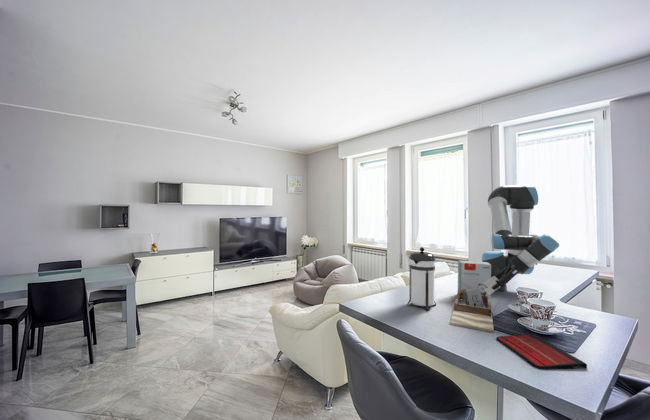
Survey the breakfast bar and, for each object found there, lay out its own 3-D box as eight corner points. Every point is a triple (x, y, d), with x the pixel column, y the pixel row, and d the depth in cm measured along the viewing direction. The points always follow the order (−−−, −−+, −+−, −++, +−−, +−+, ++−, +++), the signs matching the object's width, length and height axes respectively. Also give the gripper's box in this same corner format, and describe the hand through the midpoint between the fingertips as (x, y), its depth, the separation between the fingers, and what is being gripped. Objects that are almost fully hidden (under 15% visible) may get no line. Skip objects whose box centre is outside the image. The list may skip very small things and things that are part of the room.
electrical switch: (471, 310, 134) (470, 290, 135) (462, 307, 139) (461, 289, 140) (484, 307, 138) (482, 288, 139) (474, 305, 143) (473, 287, 144)
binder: (533, 332, 106) (587, 363, 85) (533, 338, 106) (587, 370, 85) (493, 334, 105) (537, 366, 84) (493, 340, 105) (538, 373, 84)
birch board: (453, 312, 131) (453, 310, 131) (492, 318, 123) (492, 316, 123) (450, 324, 118) (450, 321, 118) (493, 332, 110) (493, 330, 110)
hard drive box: (459, 298, 153) (460, 262, 153) (457, 294, 160) (457, 260, 160) (491, 300, 148) (491, 264, 148) (487, 296, 156) (487, 261, 156)
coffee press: (444, 311, 133) (444, 249, 133) (411, 310, 133) (411, 249, 133) (431, 299, 150) (431, 245, 150) (402, 299, 150) (402, 244, 150)
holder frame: (457, 298, 152) (457, 292, 152) (489, 303, 144) (489, 296, 144) (454, 310, 133) (454, 303, 133) (491, 317, 126) (491, 309, 126)
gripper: (535, 272, 115) (494, 302, 122) (526, 263, 137) (491, 289, 144) (520, 259, 118) (480, 289, 125) (513, 251, 140) (480, 277, 147)
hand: (486, 289), depth 135 cm, fingers open, 13 cm apart
